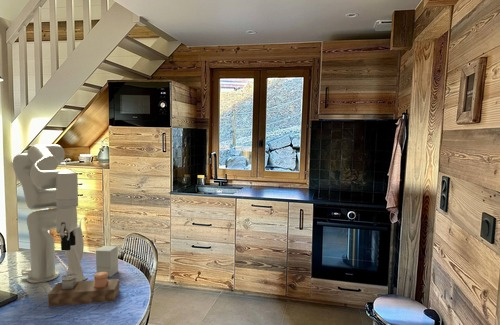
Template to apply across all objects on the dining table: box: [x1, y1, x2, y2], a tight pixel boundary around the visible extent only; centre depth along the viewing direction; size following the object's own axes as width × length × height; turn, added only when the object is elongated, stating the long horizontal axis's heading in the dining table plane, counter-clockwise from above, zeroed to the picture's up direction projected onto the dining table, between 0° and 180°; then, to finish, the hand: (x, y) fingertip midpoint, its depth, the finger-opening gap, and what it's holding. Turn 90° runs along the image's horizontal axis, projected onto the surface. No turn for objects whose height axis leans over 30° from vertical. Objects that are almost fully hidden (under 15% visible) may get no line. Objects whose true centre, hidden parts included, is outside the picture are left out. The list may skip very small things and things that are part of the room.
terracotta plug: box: [93, 272, 109, 288], centre depth 133 cm, size 5×5×6 cm
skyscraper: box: [64, 221, 88, 282], centre depth 147 cm, size 8×8×28 cm
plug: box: [61, 273, 77, 290], centre depth 131 cm, size 5×5×6 cm
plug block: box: [47, 278, 120, 308], centre depth 133 cm, size 24×10×5 cm, turn 101°
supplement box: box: [95, 245, 119, 278], centre depth 156 cm, size 7×7×13 cm
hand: (68, 247), depth 130 cm, fingers open, 5 cm apart
